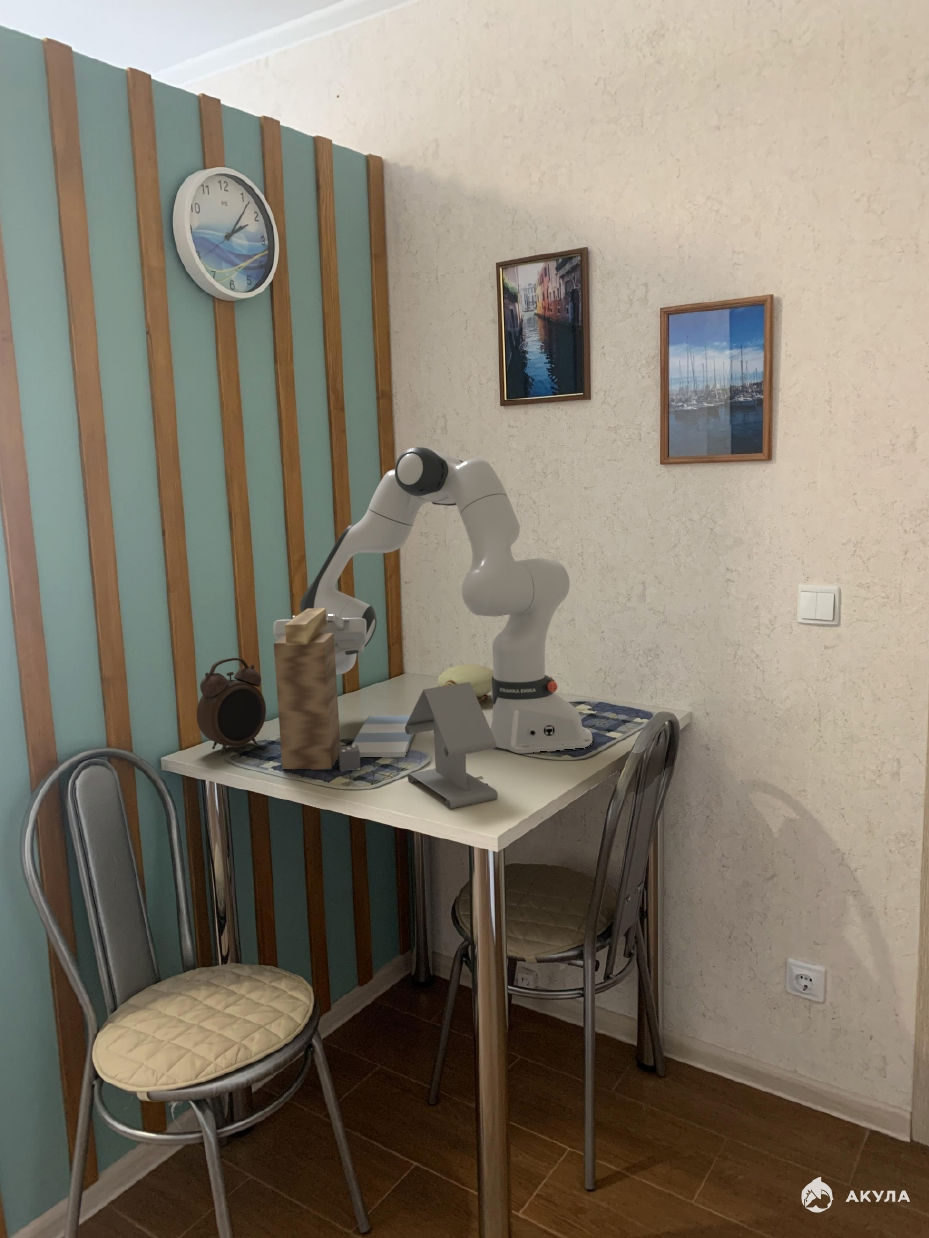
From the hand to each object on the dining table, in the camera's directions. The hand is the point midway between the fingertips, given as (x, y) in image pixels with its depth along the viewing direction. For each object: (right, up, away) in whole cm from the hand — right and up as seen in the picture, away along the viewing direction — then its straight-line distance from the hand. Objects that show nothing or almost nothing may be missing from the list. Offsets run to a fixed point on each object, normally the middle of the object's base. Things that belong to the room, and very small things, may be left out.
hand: (313, 618), depth 198 cm
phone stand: (+29, -32, -24) cm, 50 cm away
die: (+9, -30, -9) cm, 33 cm away
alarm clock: (-18, -29, +7) cm, 34 cm away
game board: (+14, -27, +11) cm, 32 cm away
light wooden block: (0, -3, -6) cm, 7 cm away
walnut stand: (0, -30, -4) cm, 30 cm away
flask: (+32, -21, +39) cm, 55 cm away
